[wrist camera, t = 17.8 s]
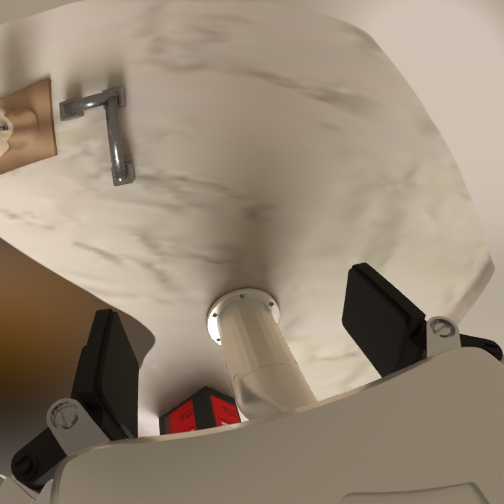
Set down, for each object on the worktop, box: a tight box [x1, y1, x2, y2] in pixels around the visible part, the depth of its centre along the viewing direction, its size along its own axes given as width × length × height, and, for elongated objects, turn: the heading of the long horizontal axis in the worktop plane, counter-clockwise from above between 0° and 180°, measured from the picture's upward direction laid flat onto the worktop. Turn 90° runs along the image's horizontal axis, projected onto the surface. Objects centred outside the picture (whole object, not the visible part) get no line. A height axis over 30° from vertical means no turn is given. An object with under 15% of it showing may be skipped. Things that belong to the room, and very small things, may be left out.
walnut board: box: [0, 79, 58, 175], centre depth 27 cm, size 11×11×1 cm
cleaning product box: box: [159, 386, 241, 435], centre depth 49 cm, size 16×9×20 cm, turn 130°
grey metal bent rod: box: [59, 86, 135, 186], centre depth 30 cm, size 12×8×4 cm
